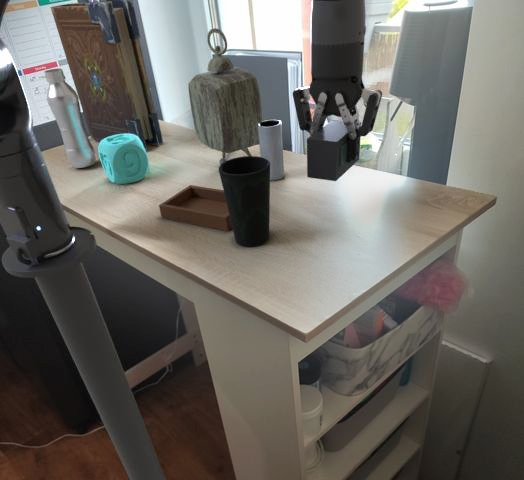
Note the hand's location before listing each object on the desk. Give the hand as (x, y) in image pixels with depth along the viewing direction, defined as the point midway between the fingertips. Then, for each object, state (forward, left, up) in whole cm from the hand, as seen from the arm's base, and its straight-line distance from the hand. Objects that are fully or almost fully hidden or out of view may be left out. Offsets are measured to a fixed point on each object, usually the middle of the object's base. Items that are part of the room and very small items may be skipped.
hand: (334, 159), depth 77 cm
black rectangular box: (0, 0, -2) cm, 2 cm away
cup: (-14, +8, -9) cm, 19 cm away
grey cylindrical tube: (+10, +18, -9) cm, 22 cm away
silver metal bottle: (+2, +65, -9) cm, 66 cm away
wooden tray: (-9, +21, -9) cm, 24 cm away
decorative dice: (0, +49, -9) cm, 50 cm away
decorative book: (+19, +68, -9) cm, 71 cm away
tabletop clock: (+14, +31, -9) cm, 35 cm away
